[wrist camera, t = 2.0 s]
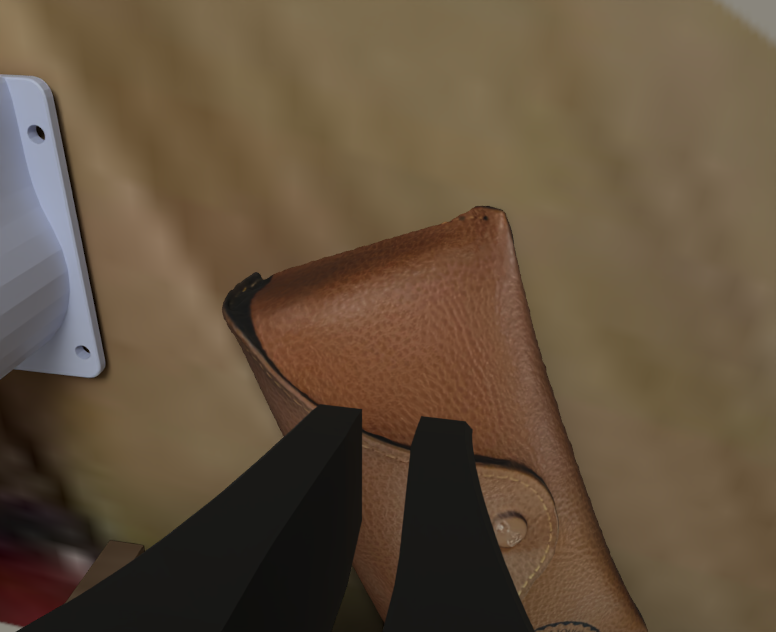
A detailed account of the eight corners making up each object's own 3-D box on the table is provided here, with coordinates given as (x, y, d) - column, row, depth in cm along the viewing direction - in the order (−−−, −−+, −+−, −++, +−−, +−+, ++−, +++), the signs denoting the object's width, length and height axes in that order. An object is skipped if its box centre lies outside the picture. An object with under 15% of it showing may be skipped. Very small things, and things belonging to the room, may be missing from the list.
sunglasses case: (669, 646, 25) (587, 828, 21) (507, 592, 30) (417, 730, 26) (501, 181, 18) (335, 315, 14) (331, 214, 23) (175, 319, 19)
